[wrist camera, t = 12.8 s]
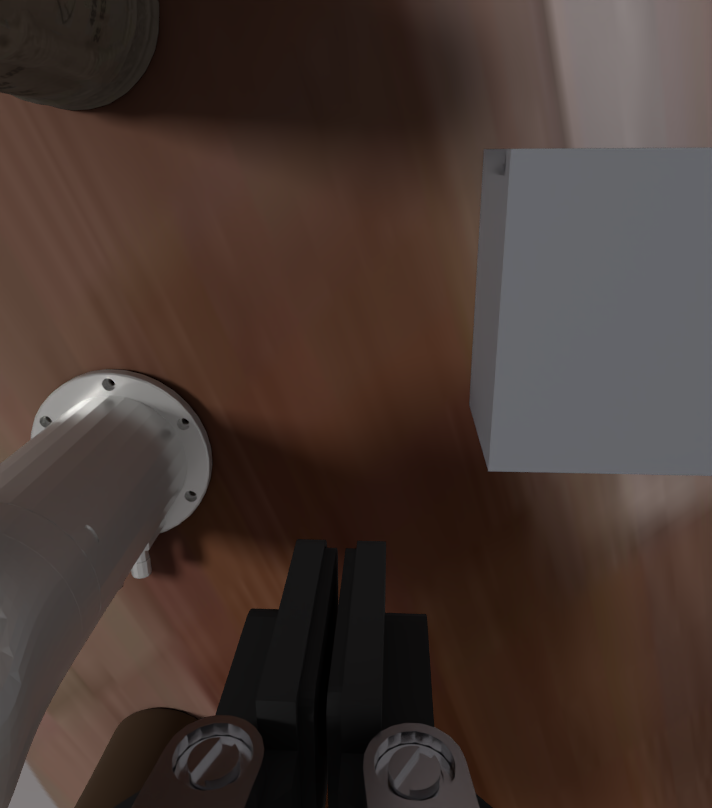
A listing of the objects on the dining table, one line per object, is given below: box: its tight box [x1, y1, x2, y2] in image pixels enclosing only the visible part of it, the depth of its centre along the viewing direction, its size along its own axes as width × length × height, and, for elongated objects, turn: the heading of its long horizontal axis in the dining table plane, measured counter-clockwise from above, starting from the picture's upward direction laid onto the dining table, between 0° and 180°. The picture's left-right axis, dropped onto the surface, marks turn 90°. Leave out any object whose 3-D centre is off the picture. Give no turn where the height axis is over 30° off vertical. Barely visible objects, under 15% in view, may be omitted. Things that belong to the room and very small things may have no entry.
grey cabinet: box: [469, 148, 712, 476], centre depth 37 cm, size 16×20×10 cm
